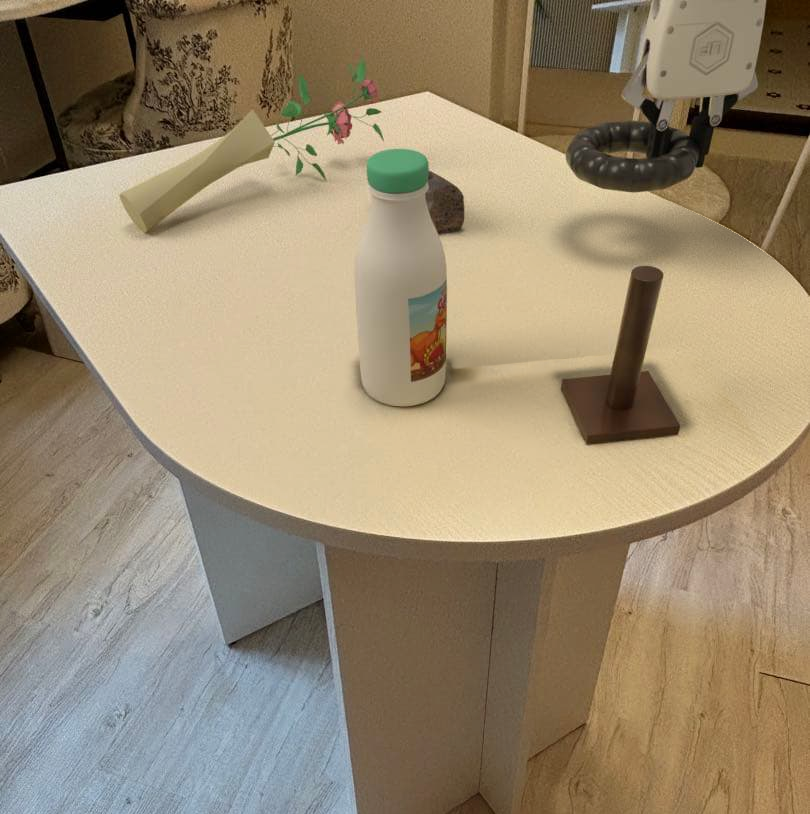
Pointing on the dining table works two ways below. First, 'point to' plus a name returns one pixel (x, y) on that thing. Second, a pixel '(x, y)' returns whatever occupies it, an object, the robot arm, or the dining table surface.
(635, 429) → the holder
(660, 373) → the dining table surface
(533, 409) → the dining table surface
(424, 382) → the milk bottle
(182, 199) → the flower vase
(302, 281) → the dining table surface
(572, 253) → the dining table surface
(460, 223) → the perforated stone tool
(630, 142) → the ring
